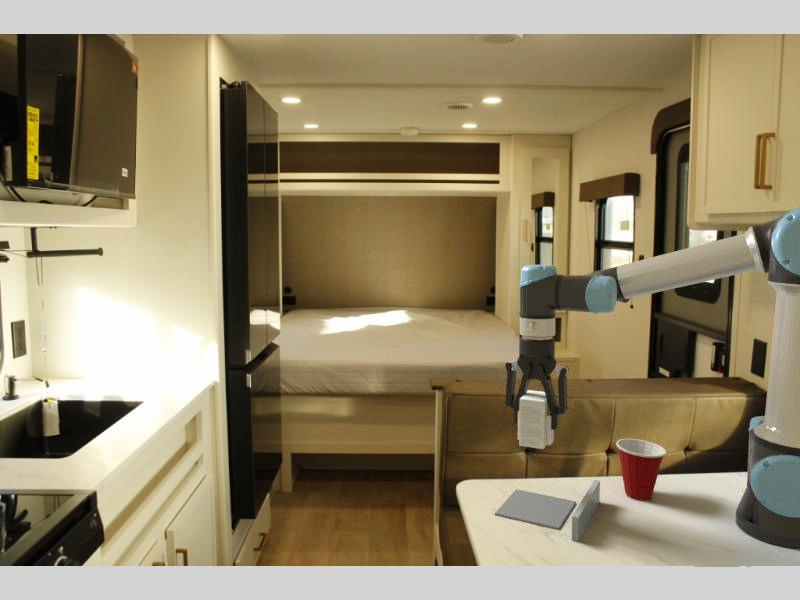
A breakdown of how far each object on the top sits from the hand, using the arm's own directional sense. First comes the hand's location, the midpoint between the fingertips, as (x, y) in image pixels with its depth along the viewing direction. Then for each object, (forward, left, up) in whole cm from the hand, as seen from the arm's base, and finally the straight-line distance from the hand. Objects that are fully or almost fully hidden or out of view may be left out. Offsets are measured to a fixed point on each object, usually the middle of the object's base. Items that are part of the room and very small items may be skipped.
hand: (535, 440), depth 130 cm
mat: (0, 0, -16) cm, 16 cm away
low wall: (-11, 0, -16) cm, 19 cm away
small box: (0, 0, -1) cm, 1 cm away
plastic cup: (-19, -18, -16) cm, 31 cm away
